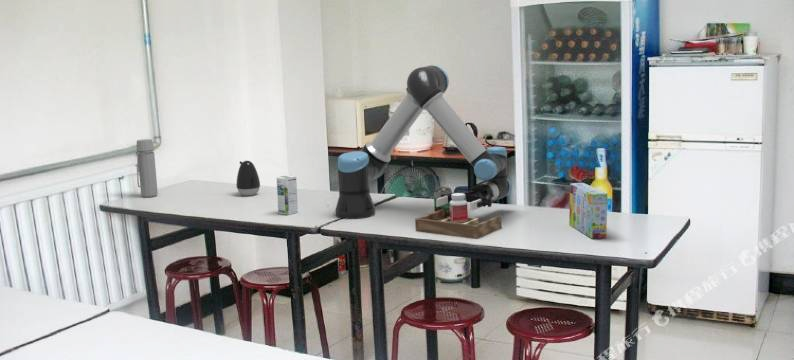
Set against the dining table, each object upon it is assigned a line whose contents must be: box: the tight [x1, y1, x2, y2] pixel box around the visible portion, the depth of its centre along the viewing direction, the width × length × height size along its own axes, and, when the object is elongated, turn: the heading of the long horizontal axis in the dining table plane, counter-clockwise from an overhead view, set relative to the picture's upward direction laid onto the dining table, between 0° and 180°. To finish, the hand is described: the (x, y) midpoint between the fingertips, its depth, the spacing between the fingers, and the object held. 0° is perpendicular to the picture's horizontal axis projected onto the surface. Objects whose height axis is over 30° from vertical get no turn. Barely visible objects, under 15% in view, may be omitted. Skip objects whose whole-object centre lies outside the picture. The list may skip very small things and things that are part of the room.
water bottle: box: [135, 138, 159, 198], centre depth 373 cm, size 9×8×25 cm
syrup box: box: [276, 175, 299, 216], centre depth 329 cm, size 6×6×14 cm
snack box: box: [568, 182, 608, 240], centre depth 284 cm, size 21×6×15 cm, turn 9°
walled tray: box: [414, 209, 502, 239], centre depth 294 cm, size 17×24×4 cm
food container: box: [433, 186, 453, 218], centre depth 316 cm, size 12×6×10 cm, turn 168°
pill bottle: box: [449, 192, 469, 223], centre depth 294 cm, size 6×6×11 cm
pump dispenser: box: [236, 160, 261, 197], centre depth 369 cm, size 10×10×15 cm
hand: (453, 204), depth 291 cm, fingers open, 13 cm apart
